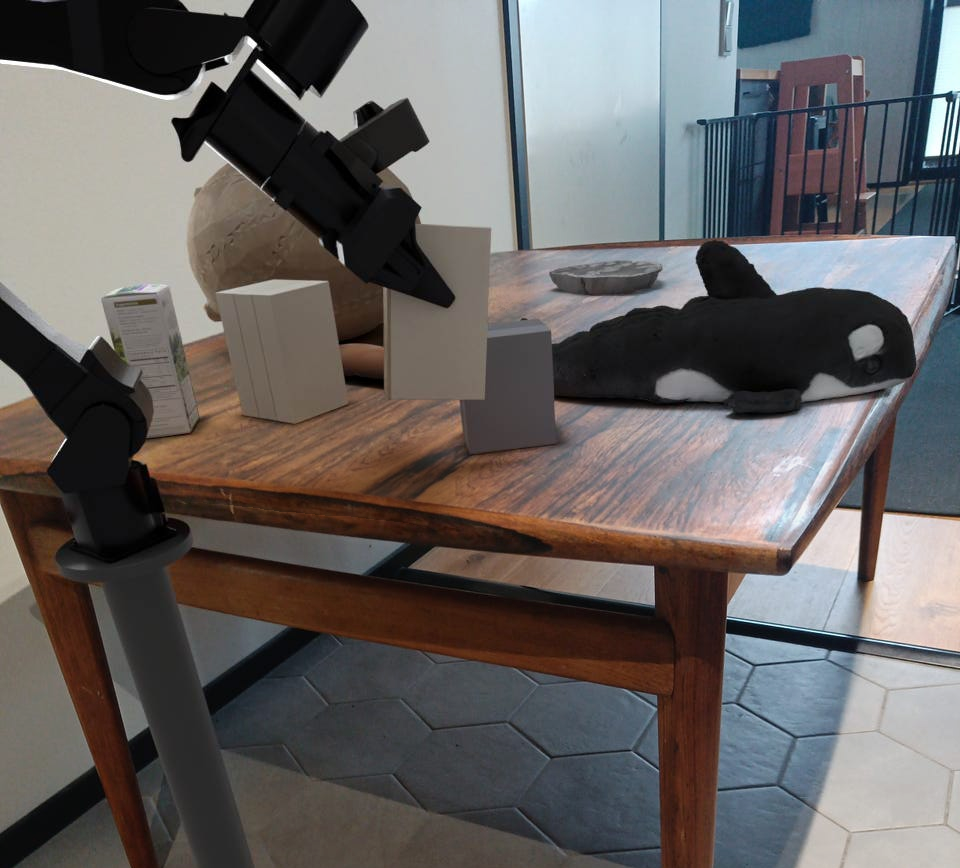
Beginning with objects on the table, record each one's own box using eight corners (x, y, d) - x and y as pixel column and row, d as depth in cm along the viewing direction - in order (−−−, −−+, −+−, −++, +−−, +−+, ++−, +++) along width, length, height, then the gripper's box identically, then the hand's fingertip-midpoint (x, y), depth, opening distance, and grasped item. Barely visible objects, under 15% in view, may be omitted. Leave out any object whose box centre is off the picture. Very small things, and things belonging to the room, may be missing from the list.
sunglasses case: (474, 372, 105) (450, 328, 100) (444, 416, 103) (418, 373, 98) (368, 361, 115) (342, 321, 110) (339, 401, 113) (310, 361, 108)
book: (387, 400, 72) (386, 222, 66) (384, 393, 74) (382, 222, 69) (484, 400, 73) (491, 226, 68) (478, 393, 76) (484, 226, 70)
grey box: (469, 454, 80) (458, 340, 75) (462, 435, 85) (452, 328, 80) (556, 444, 81) (551, 330, 76) (544, 425, 86) (539, 318, 81)
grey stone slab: (686, 280, 151) (686, 261, 150) (631, 298, 140) (631, 278, 139) (591, 277, 163) (591, 259, 161) (534, 293, 152) (533, 275, 151)
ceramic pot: (219, 377, 117) (169, 163, 104) (203, 336, 145) (163, 163, 132) (459, 339, 125) (440, 136, 112) (400, 307, 153) (380, 141, 140)
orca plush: (893, 429, 76) (920, 246, 69) (480, 403, 95) (467, 258, 87) (921, 367, 92) (946, 213, 85) (562, 355, 110) (557, 229, 103)
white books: (295, 424, 94) (269, 295, 88) (242, 415, 99) (215, 292, 93) (348, 404, 99) (328, 280, 93) (296, 396, 104) (273, 279, 98)
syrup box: (149, 425, 99) (111, 287, 92) (202, 419, 99) (168, 281, 92) (138, 440, 94) (96, 296, 87) (194, 433, 94) (157, 289, 87)
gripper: (369, 40, 54) (549, 222, 61) (335, 66, 69) (481, 208, 77) (264, 197, 56) (448, 353, 64) (254, 188, 72) (403, 314, 79)
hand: (447, 300), depth 71 cm, fingers closed on book, 3 cm apart
